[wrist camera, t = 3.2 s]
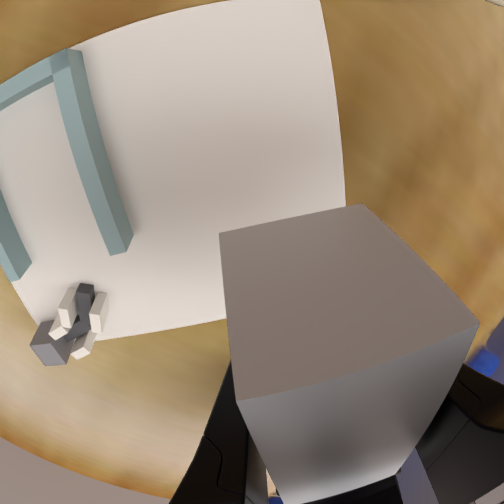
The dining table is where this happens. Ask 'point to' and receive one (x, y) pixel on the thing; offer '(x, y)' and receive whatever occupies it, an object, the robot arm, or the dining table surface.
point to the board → (176, 157)
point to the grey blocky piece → (61, 348)
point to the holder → (83, 149)
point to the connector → (337, 347)
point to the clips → (67, 318)
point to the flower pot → (497, 2)
